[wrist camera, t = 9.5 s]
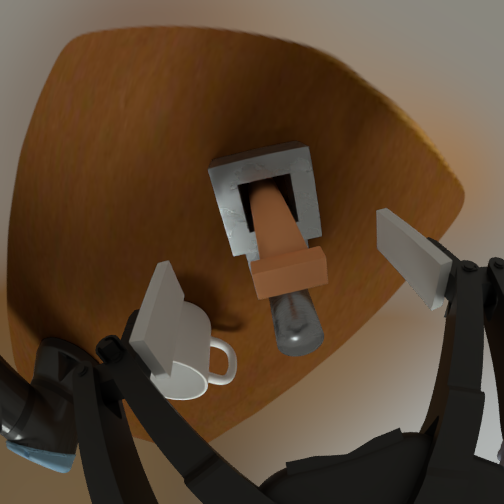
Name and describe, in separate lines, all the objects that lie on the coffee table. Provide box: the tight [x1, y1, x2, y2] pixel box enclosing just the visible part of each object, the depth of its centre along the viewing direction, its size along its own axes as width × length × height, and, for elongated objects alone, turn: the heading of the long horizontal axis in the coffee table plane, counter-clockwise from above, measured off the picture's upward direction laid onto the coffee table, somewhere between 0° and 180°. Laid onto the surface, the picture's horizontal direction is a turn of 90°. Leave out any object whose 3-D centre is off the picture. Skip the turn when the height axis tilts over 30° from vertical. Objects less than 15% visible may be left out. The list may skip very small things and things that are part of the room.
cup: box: [150, 301, 237, 400], centre depth 32 cm, size 8×12×10 cm
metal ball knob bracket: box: [208, 141, 324, 356], centre depth 24 cm, size 9×17×12 cm, turn 13°
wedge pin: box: [248, 177, 328, 300], centre depth 21 cm, size 4×3×15 cm
